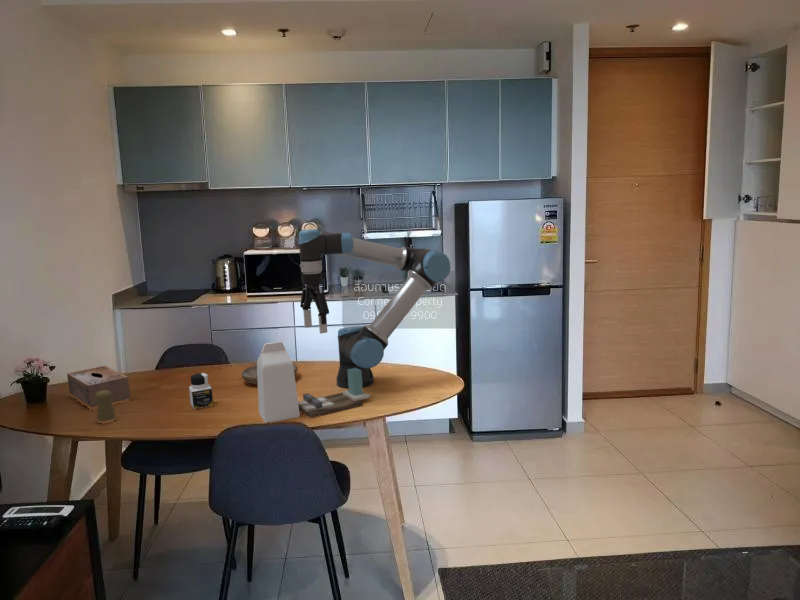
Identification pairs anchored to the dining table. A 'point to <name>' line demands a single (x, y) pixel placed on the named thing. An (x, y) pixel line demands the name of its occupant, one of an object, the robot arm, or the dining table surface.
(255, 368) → the ceramic bowl
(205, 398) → the medicine bottle
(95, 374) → the tissue box cover
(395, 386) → the dining table surface
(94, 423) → the dining table surface
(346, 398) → the board
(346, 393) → the teal cube on panel
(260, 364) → the milk
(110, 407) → the green pepper shaker
